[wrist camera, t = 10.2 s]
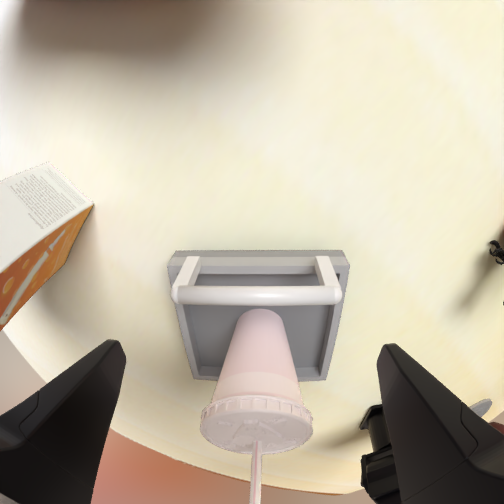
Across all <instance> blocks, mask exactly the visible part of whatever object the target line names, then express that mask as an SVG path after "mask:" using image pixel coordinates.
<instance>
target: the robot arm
mask: <svg viewBox="0 0 504 504" xmlns="http://www.w3.org/2000/svg"><path fill="white" fill-rule="evenodd" d="M125 365H126V356H125V353H124V351H123V349H122V347H121V344H120V342H119V341H117V340H111V339H108V340H106V341H105V342H103V343H102V344H101V345H99V346H98V347H97V348H95V349H94V350H92V351H91V352H90V353H88V354H87V355H86V356H84V357H83V358H81V359H80V360H79V361H77V362H76V363H75V364H73V365H72V366H71V367H69V368H68V369H67V370H65V371H64V372H62V373H61V374H60V375H58V376H57V377H56V378H54V379H53V380H52V381H50V382H49V383H48V384H46V385H45V386H44V387H42V388H41V389H40V391H37V392H36V393H34V394H33V395H31V396H30V397H29V398H27V399H26V400H25V401H23V402H22V403H20V404H18V405H17V406H15V407H14V408H12V409H11V410H9V411H7V412H6V413H4V414H2V415H1V416H0V504H91V499H92V494H93V488H94V484H95V480H96V476H97V472H98V467H99V464H100V459H101V455H102V452H103V448H104V444H105V441H106V437H107V434H108V430H109V427H110V423H111V420H112V417H113V414H114V410H115V407H116V404H117V401H118V397H119V393H120V388H121V383H122V378H123V374H124V369H125ZM377 371H378V377H379V384H380V392H381V399H382V405H377V406H373V407H371V408H370V410H369V411H368V413H367V415H366V417H365V419H364V420H363V422H362V424H361V425H360V429H361V430H363V429H369V433H370V438H371V442H372V447H373V453H370V454H367V455H366V454H365V455H362V459H361V468H362V475H361V486H362V487H364V488H365V490H366V492H367V493H368V494H369V496H370V497H371V499H372V500H373V501H374V502H375V503H376V504H504V434H503V433H501V432H500V431H499V430H497V429H496V428H494V427H493V426H492V425H490V424H489V423H488V422H486V421H485V420H484V419H482V418H481V417H480V416H478V415H477V414H476V413H475V412H474V411H473V410H471V409H470V408H469V407H468V406H467V405H466V404H465V403H463V402H462V401H461V400H460V399H459V398H458V397H457V396H456V395H454V394H453V393H452V392H451V391H450V390H449V389H448V388H446V387H445V386H444V385H443V384H442V383H441V382H440V381H438V380H437V379H436V378H435V377H434V376H433V375H432V374H430V373H429V372H428V371H427V370H426V369H425V368H424V367H422V366H421V365H420V364H419V363H418V362H417V361H415V360H414V359H413V358H412V357H411V356H410V355H408V354H407V353H406V352H405V351H404V350H403V349H401V348H400V347H399V346H398V345H397V344H395V343H391V344H385V345H383V347H382V349H381V352H380V355H379V357H378V360H377Z"/></svg>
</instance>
